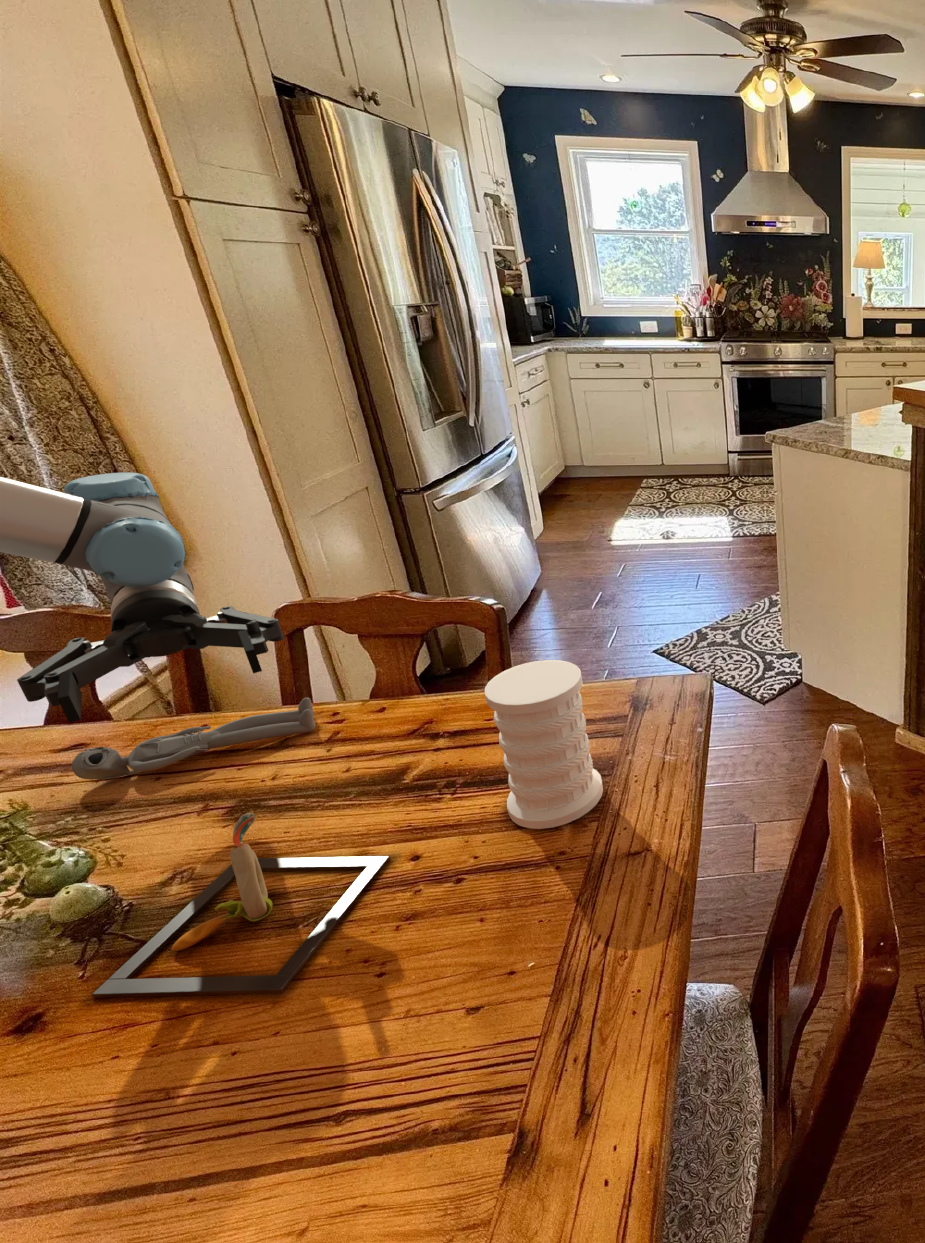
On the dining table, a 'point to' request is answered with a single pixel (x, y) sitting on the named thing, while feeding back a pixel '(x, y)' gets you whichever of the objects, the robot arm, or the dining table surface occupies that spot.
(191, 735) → the alien figure
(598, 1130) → the dining table surface
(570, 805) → the decorative container
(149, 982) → the spot frame
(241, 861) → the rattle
